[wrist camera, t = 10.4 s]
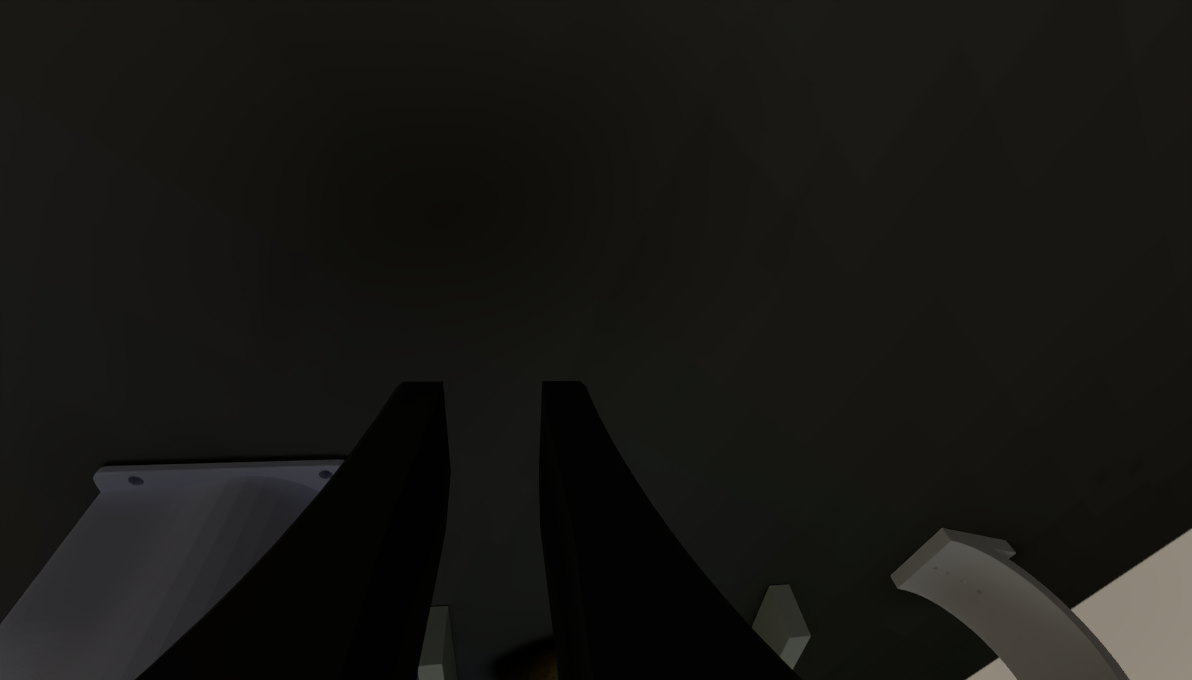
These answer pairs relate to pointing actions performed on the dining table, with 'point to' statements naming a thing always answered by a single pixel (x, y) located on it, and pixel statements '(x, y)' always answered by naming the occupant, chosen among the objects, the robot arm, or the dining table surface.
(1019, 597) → the headphone stand
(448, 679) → the grey u-shaped bar
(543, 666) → the potato
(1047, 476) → the dining table surface
